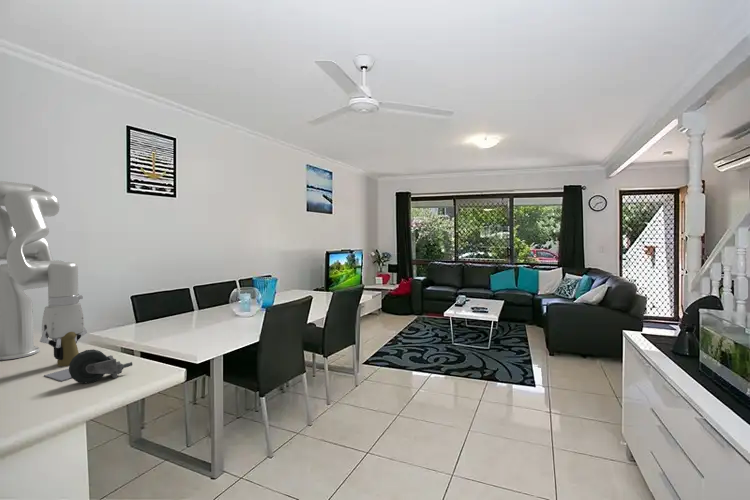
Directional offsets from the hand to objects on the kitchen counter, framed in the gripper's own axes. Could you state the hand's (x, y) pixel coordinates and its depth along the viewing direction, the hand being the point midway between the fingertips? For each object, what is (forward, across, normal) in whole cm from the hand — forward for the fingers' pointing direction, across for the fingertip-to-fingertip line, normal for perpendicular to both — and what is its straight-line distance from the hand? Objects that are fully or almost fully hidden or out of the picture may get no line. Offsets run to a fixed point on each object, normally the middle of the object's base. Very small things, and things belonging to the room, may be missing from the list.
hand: (64, 357), depth 125 cm
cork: (+2, -1, 0) cm, 3 cm away
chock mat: (+2, +3, +11) cm, 11 cm away
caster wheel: (+2, +2, +23) cm, 23 cm away
